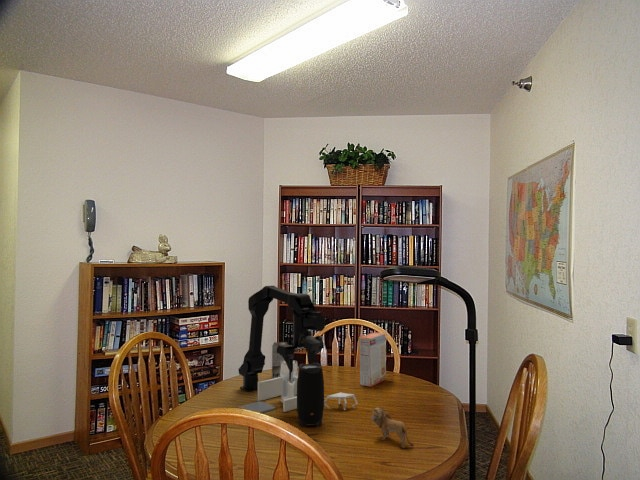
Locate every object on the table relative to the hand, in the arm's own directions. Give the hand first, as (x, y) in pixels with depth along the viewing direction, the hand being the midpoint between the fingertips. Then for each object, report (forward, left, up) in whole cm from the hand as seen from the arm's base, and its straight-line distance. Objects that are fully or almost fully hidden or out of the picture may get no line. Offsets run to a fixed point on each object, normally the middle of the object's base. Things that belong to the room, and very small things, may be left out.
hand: (300, 370), depth 177 cm
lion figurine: (+42, 0, -14) cm, 45 cm away
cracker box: (-3, +43, -14) cm, 45 cm away
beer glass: (-8, 0, -14) cm, 16 cm away
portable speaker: (+15, -9, -14) cm, 22 cm away
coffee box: (-33, +15, -14) cm, 39 cm away
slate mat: (-9, -14, -13) cm, 21 cm away
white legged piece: (+10, +9, -14) cm, 20 cm away
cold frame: (-8, 0, -13) cm, 15 cm away
